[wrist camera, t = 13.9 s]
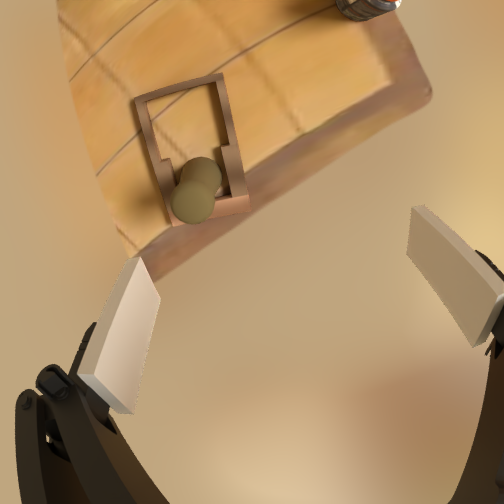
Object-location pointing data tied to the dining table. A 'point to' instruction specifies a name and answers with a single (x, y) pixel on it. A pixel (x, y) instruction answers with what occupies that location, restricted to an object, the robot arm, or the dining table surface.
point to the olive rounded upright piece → (196, 191)
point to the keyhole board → (230, 151)
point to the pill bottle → (366, 8)
